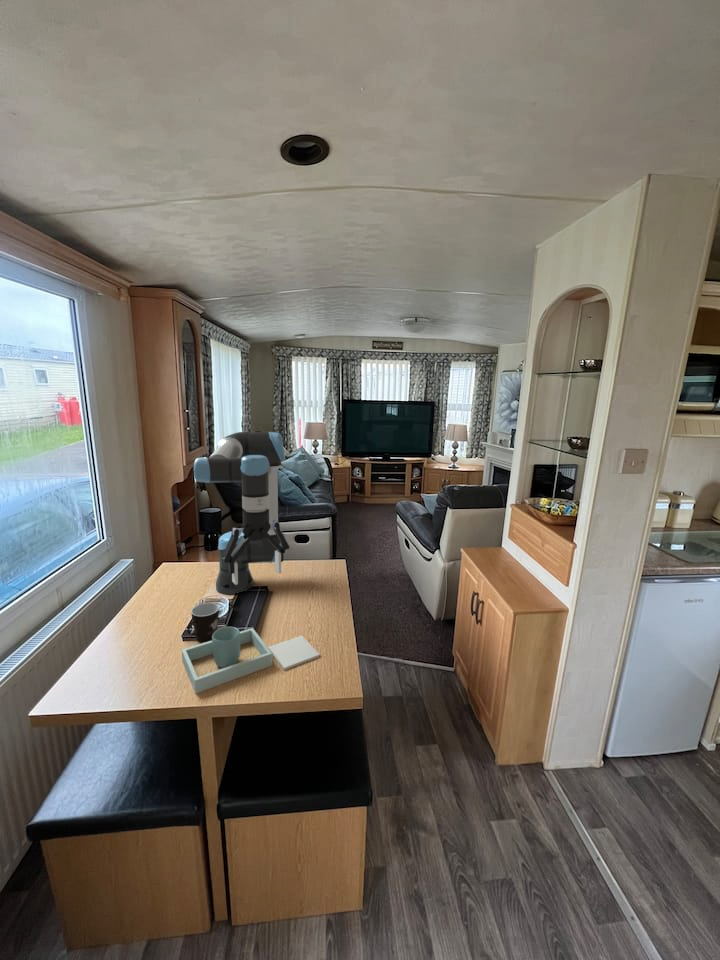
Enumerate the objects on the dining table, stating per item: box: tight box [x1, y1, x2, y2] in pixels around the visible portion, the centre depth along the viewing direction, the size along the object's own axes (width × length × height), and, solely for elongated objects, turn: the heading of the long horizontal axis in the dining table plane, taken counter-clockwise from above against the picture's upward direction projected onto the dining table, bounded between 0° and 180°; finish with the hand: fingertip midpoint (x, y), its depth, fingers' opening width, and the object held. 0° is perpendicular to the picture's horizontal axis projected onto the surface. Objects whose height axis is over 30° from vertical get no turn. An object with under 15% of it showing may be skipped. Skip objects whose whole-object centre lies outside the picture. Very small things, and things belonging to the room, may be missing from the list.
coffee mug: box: [187, 602, 220, 643], centre depth 133 cm, size 12×9×10 cm
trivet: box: [267, 635, 321, 671], centre depth 128 cm, size 12×12×1 cm
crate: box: [181, 627, 273, 695], centre depth 122 cm, size 16×22×4 cm
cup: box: [212, 626, 241, 669], centre depth 121 cm, size 8×8×10 cm
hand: (257, 577), depth 122 cm, fingers open, 13 cm apart
